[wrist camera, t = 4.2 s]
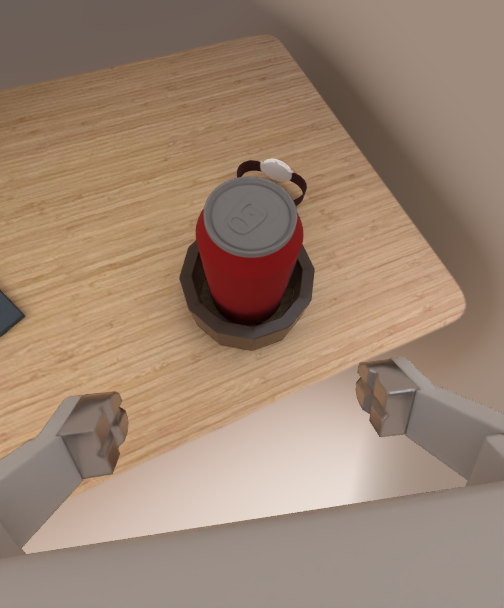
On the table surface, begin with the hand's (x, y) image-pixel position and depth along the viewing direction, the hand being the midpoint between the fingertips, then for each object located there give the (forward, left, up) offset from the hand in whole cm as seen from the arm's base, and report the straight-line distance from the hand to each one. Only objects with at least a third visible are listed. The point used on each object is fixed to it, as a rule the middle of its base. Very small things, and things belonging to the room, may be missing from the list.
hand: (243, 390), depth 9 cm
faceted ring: (+8, +6, -15) cm, 18 cm away
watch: (+19, +12, -15) cm, 27 cm away
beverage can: (+8, +6, -15) cm, 18 cm away
